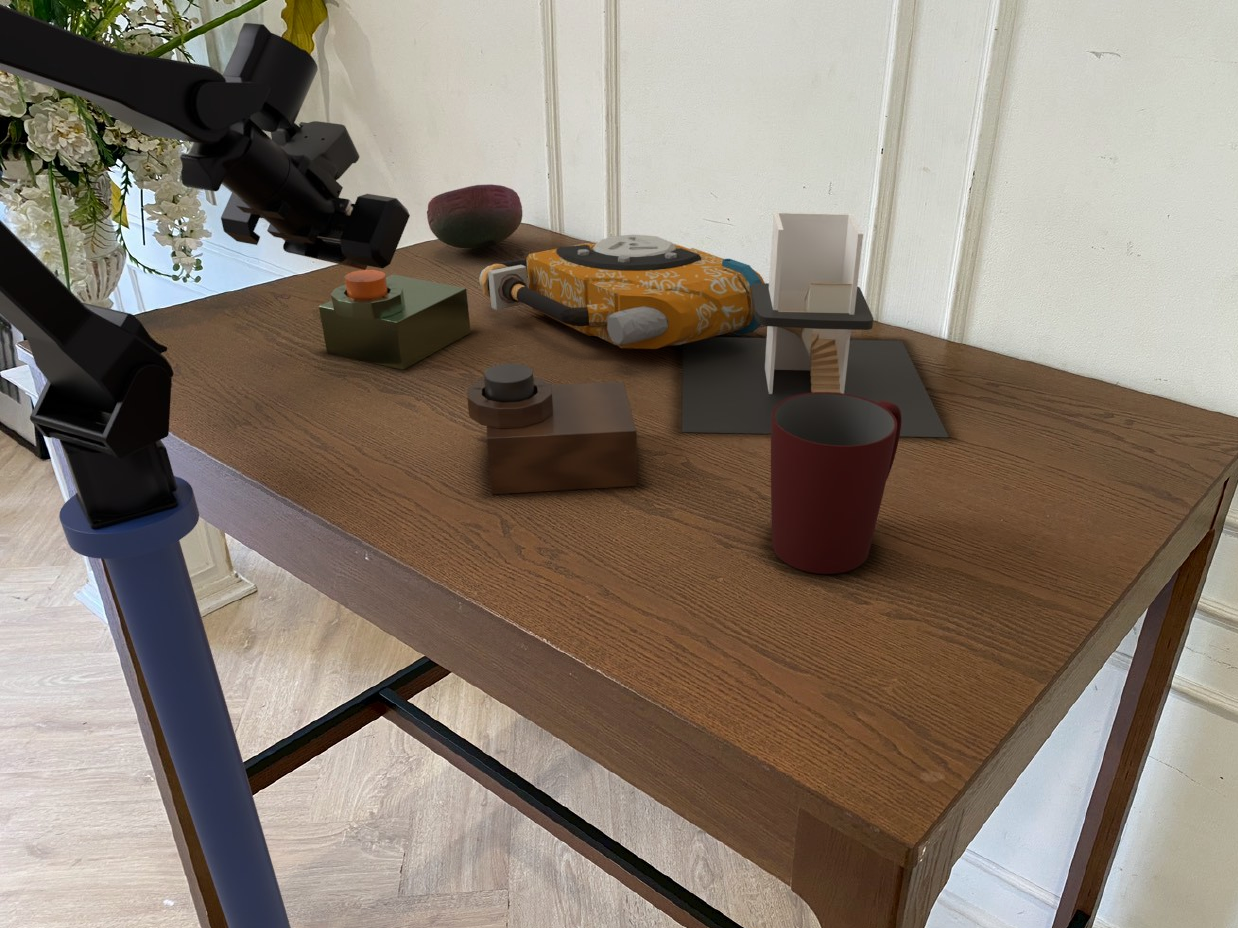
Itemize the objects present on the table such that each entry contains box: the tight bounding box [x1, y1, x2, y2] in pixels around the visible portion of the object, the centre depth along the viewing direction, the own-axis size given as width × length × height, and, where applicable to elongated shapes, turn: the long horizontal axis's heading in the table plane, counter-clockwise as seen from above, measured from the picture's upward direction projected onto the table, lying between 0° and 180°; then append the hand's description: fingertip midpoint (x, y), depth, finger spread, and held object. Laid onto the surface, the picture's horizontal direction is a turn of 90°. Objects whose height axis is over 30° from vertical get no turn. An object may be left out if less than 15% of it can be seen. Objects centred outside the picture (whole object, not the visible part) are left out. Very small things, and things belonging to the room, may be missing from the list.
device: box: [478, 234, 766, 350], centre depth 114 cm, size 23×8×30 cm
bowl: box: [426, 183, 523, 249], centre depth 137 cm, size 16×13×8 cm
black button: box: [483, 362, 534, 403], centre depth 84 cm, size 4×4×2 cm
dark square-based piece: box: [681, 211, 950, 438], centre depth 100 cm, size 25×24×16 cm
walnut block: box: [466, 375, 638, 495], centre depth 86 cm, size 14×10×7 cm
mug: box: [770, 392, 902, 575], centre depth 76 cm, size 12×9×11 cm
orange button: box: [344, 269, 388, 299], centre depth 104 cm, size 4×4×2 cm
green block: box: [318, 274, 472, 371], centre depth 108 cm, size 13×10×7 cm
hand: (364, 265), depth 102 cm, fingers closed
